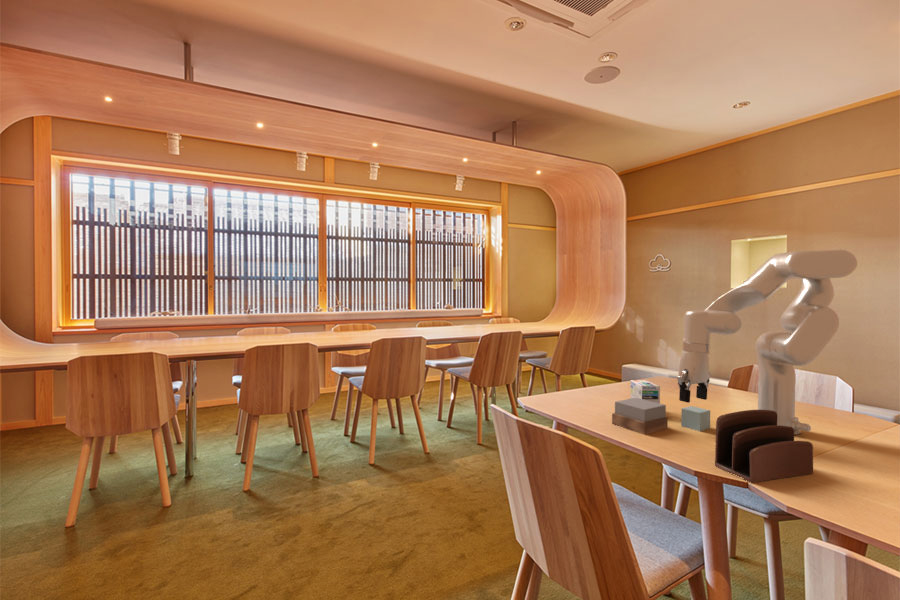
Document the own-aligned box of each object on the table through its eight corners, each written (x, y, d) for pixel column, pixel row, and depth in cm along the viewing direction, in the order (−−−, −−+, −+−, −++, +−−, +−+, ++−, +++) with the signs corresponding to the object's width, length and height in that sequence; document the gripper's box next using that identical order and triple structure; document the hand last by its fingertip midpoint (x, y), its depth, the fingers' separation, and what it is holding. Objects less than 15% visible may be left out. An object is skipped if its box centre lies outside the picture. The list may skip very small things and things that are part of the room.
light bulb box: (660, 415, 151) (660, 385, 151) (641, 415, 151) (641, 385, 151) (647, 407, 162) (647, 379, 162) (629, 407, 162) (629, 379, 162)
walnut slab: (667, 429, 137) (667, 417, 137) (644, 436, 131) (644, 423, 131) (634, 420, 147) (635, 408, 147) (612, 425, 141) (612, 413, 141)
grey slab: (665, 417, 137) (665, 405, 137) (644, 422, 132) (644, 409, 132) (635, 409, 147) (635, 397, 147) (614, 413, 141) (615, 401, 141)
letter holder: (714, 466, 107) (714, 412, 107) (773, 459, 113) (774, 406, 112) (751, 484, 98) (752, 423, 97) (814, 474, 103) (815, 417, 103)
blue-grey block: (710, 428, 137) (710, 410, 137) (699, 431, 134) (700, 413, 134) (691, 423, 142) (691, 406, 142) (681, 426, 139) (681, 408, 139)
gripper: (699, 345, 145) (696, 395, 146) (669, 347, 137) (666, 399, 137) (722, 349, 139) (719, 400, 139) (692, 350, 130) (689, 405, 131)
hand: (693, 400), depth 138 cm, fingers open, 9 cm apart
